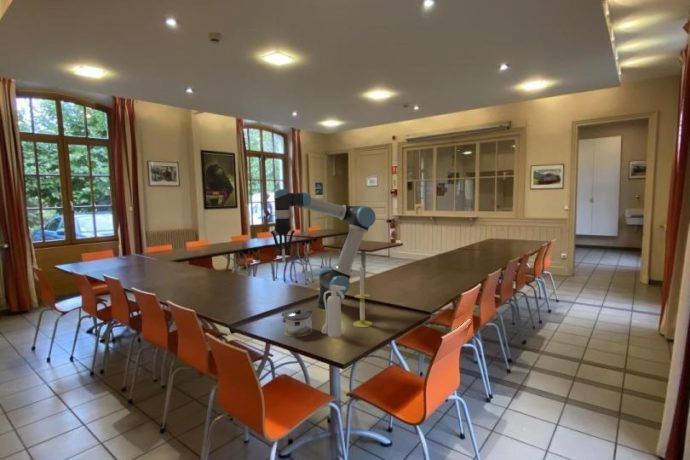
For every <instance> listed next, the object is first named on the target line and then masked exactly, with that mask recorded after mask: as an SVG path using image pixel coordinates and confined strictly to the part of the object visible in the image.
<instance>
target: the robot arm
mask: <svg viewBox="0 0 690 460" xmlns="http://www.w3.org/2000/svg"><path fill="white" fill-rule="evenodd" d="M273 198H274V210H275V211H274V216H275V219H274V221H275V227H274V229H273V230H271V232H270V234H271V235H272V238H273V241H274V245H275V247H276V249H279V255H280V256H281V258H282V259H281V261H282V262H284V263H285V262H286V256H287V255H288V249H290V248H291V245H292V240H293V235H294V234H295V230H294V229H293V228H292V227H291V225H290V223H291V222H290V220H291V219H290V218H289V217H290V207H296V208H298V209H303V210H307V211H311V212H314V213H320V214H324V215H328V216H331V217H335V218H338V219H339V220H340V221H344V222H346V223H349V224H348V226H349V231H348V234H347V237H346V239H345V242H344V244H343V246H342V249H341V251H340V255H339V257H338V259H337V261H336V265H335V266H334V267H332V268H331V267H329V268H321V269H320V270H319V272H318V273H319V274H318V277H319V295H318V298H317V301H316V303H317V307H318V308H320V309H324V310H325V303H324V299H323V298H324V293H325V292H327V291H332V289H330V288H331V285H338V286H344V287H346V289H345V290H341V291H342V293H343V294H344V295H345V294H347V293H348V292H349V290H350V288H351V283H350V282H351V281H350V279H351V276H352V274H351V273H350V272H351V270H352V266H353V264H354V261H355V258H356V255H357V252H358V251H359V249H360V245H361V243H362V240H363V237H364V234H365V233H368V231H369V229H370V227H371V226H372V225H374V223H375V221H376V213H375V211H374V209H373V208H371V207H370V206H366V205H346V204H342V205H340V204H337V203H332V202H329V201H325V200H322V199H317V198H315V197H312V196H311V194H310V193H309V192H290V191H289V189H287V188H278V189H275V190H274V197H273ZM276 233H277V235H278V237H279V238H278V237H277V235H276ZM288 234H290V236H289V241H288V239H287V238H288ZM278 239H279V240H278ZM283 239H284V241H283ZM278 241H279V242H278ZM283 243H284V244H283ZM283 245H284V247H283ZM329 296H331V293H327V294H326V297H325V299H326V303H327V299H328V297H329ZM336 296H339V297H340V299H341V306H342V305H343V304H342V303H343V301H342V298H341V296H340V294H339V293H338V292H337V291H336Z"/></svg>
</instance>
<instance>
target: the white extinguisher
mask: <svg viewBox="0 0 690 460" xmlns="http://www.w3.org/2000/svg"><path fill="white" fill-rule="evenodd" d="M330 289H332V291H327V292H325V293H324V298H323V299H324V303H325V309H324V311H325V322H324V324H323V326H322V328H321V330H320V333H322V334H324V335H327V336H328V337H330V338H339V337H341V336H342V312H341V311H342V309H341V308H342V305H341V301H342V300H343V299H345V294H343V293H342V291H341V290H345V289H346V287H344V286H338V285H331V288H330ZM336 291H337V292H338V293H339V294H340V297H339V296H336ZM327 293H331V296H329V297H328V299H327V303H326V299H325V297H326V294H327ZM340 298H341V299H340Z"/></svg>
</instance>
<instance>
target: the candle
mask: <svg viewBox="0 0 690 460" xmlns="http://www.w3.org/2000/svg"><path fill="white" fill-rule="evenodd" d="M353 297H354V298H355V299H359V320H356V321H354V322H353V323H352V325H353V326H354V327H356V328H370V327H372V325H373V323H372V322H371V321H369V320H366V310H365V308H366V307H365V306H366V305H365V304H366V303H365V299H367V298H368V299H369V298H370V297H371V295H370V294H369V293H365V269H364V266H363V263H361V265H360V267H359V293H355V294H354V295H353Z"/></svg>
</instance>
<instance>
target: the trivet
mask: <svg viewBox="0 0 690 460" xmlns="http://www.w3.org/2000/svg"><path fill="white" fill-rule="evenodd" d="M313 331H314V329H313V328H312V331H311V332H310V333H309V334H306V335H302V336H301V337H304V336H308V335H310V334H312V333H313ZM284 334H285V335H286V336H290V337H292V336H291V335H288V334H286V333H285V330H284Z"/></svg>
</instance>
